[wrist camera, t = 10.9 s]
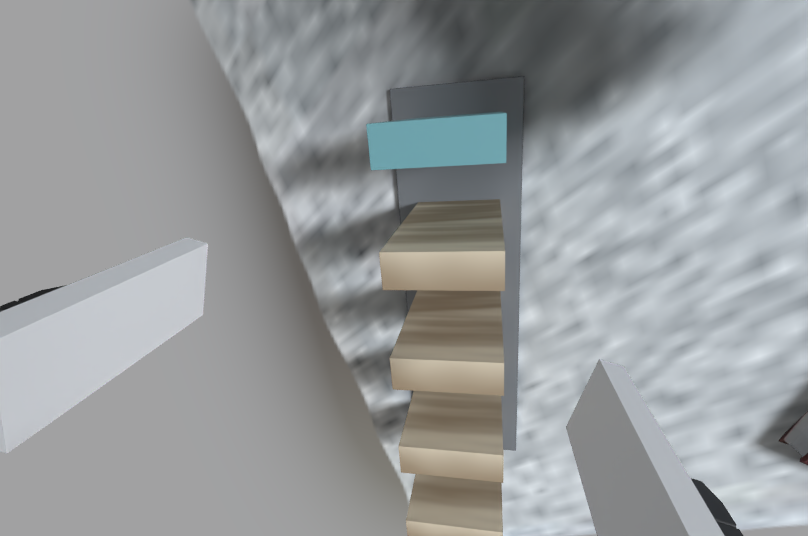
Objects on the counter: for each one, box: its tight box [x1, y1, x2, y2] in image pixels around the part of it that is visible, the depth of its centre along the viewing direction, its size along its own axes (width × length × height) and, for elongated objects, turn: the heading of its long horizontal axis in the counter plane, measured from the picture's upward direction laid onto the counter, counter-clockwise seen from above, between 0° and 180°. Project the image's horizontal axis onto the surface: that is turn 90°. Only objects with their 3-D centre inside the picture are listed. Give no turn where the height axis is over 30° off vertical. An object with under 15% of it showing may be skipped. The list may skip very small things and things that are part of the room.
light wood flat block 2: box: [399, 391, 503, 483], centre depth 30 cm, size 2×6×12 cm, turn 94°
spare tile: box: [366, 112, 507, 170], centre depth 23 cm, size 2×6×12 cm, turn 95°
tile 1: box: [406, 474, 503, 536], centre depth 32 cm, size 2×6×12 cm, turn 95°
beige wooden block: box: [390, 290, 504, 396], centre depth 28 cm, size 2×6×12 cm, turn 94°
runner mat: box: [390, 76, 524, 451], centre depth 33 cm, size 31×9×1 cm, turn 4°
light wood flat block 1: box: [379, 199, 505, 291], centre depth 25 cm, size 2×6×12 cm, turn 94°
